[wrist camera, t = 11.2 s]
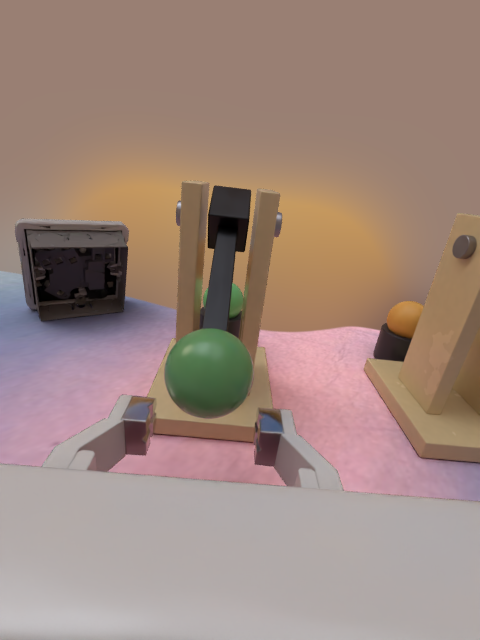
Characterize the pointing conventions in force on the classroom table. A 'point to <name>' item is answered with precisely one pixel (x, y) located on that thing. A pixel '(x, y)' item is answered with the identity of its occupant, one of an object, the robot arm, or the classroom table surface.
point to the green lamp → (234, 310)
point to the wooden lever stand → (189, 305)
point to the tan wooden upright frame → (442, 358)
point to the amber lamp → (398, 331)
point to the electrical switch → (73, 266)
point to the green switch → (215, 323)
